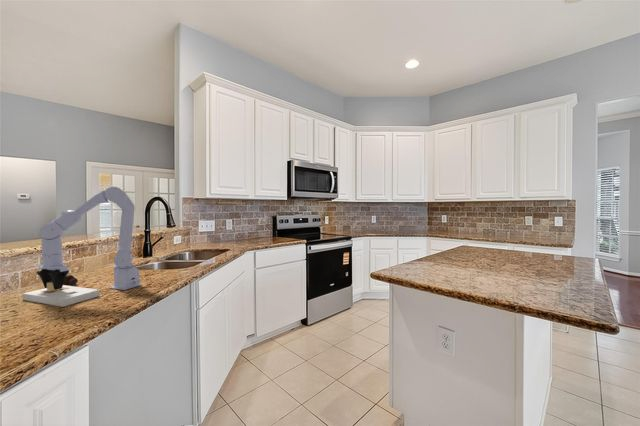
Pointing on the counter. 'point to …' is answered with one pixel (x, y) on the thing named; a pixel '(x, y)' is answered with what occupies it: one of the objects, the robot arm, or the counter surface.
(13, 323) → the counter surface
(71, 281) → the bolt
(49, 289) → the brass cylinder
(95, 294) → the fitting plate
